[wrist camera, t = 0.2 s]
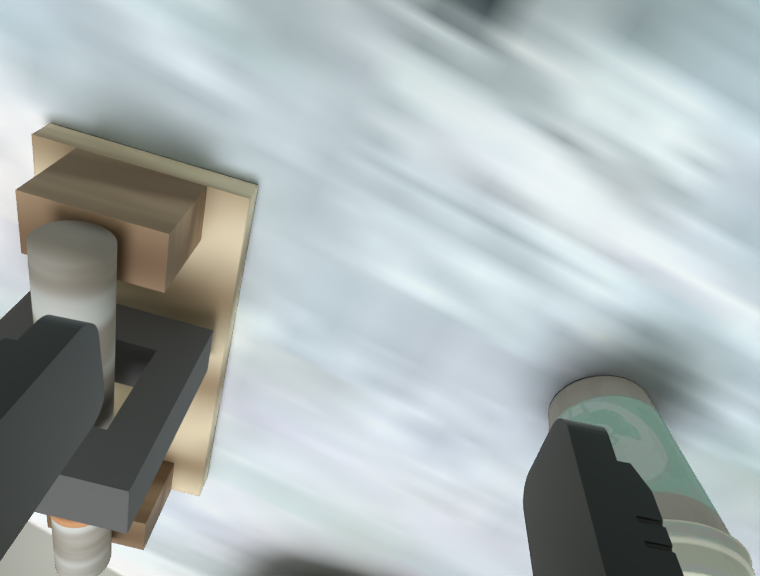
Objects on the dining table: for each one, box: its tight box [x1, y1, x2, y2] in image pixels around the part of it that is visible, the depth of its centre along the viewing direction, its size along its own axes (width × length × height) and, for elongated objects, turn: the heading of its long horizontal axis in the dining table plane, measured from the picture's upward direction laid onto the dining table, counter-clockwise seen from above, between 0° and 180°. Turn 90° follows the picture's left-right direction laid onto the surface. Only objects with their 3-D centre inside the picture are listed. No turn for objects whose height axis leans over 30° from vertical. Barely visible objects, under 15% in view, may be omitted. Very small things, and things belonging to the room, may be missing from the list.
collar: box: [0, 291, 213, 534], centre depth 26 cm, size 3×9×10 cm, turn 74°
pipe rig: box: [16, 123, 258, 576], centre depth 30 cm, size 24×10×9 cm, turn 164°
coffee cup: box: [548, 376, 755, 576], centre depth 29 cm, size 8×8×12 cm
